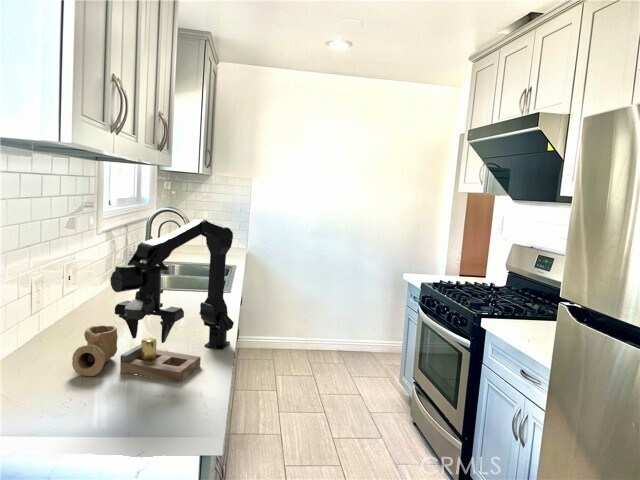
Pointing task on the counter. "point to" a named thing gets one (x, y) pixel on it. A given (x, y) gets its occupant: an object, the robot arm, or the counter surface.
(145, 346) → the brass cylinder rod
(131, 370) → the jig
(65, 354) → the counter surface
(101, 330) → the pipe
